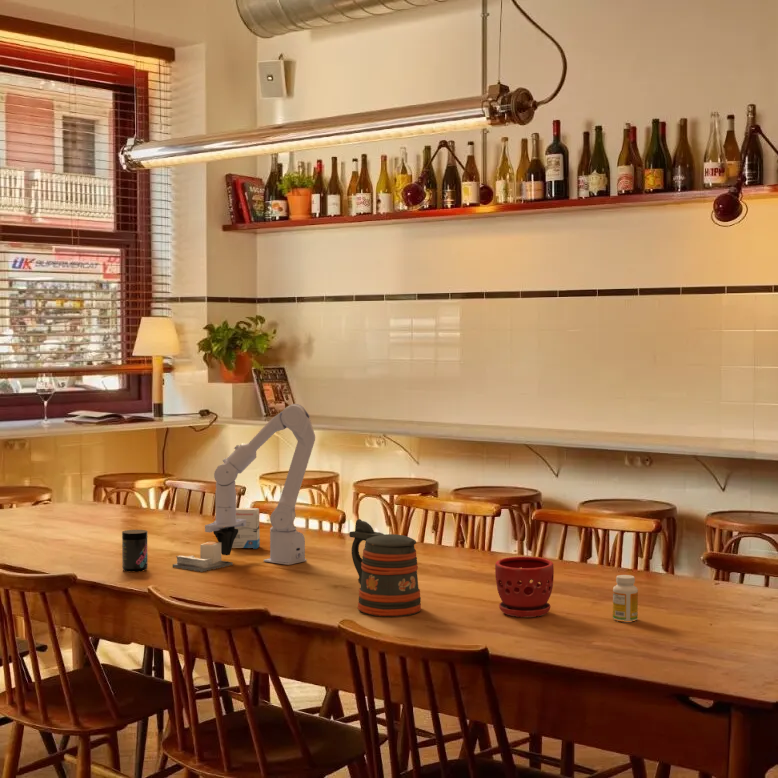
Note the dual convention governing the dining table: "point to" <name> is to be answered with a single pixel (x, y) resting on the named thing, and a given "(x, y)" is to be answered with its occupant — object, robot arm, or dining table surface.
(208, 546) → the block
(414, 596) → the beer stein
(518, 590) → the plant pot
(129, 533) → the supplement container
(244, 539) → the ink box
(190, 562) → the rail plate
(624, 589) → the supplement bottle
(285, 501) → the robot arm
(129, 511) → the dining table surface
